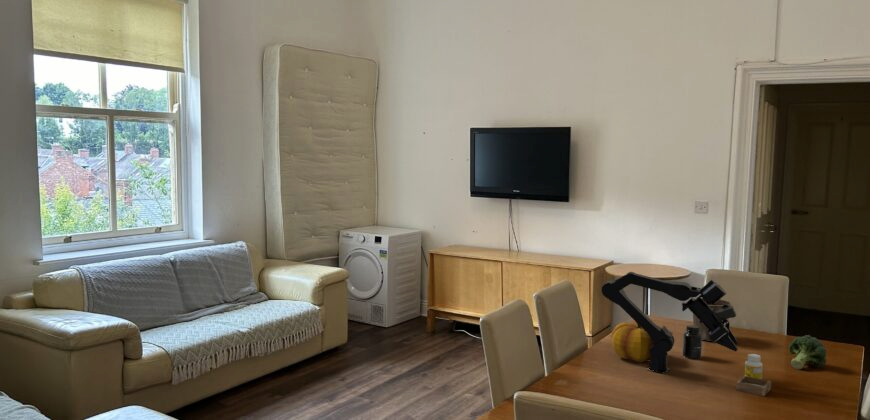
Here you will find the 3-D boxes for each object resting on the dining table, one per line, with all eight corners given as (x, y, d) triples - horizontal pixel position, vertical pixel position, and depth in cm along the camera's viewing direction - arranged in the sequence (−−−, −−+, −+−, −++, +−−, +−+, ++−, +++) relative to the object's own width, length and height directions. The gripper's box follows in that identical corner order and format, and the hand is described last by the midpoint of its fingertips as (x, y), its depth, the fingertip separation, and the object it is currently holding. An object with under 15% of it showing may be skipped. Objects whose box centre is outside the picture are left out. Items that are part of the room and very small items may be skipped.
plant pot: (680, 335, 288) (681, 298, 287) (711, 332, 293) (712, 296, 292) (706, 345, 273) (707, 306, 272) (738, 342, 278) (739, 304, 276)
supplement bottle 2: (764, 385, 224) (766, 358, 223) (748, 385, 224) (750, 357, 223) (757, 380, 229) (758, 353, 229) (741, 380, 229) (742, 353, 229)
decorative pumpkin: (611, 364, 246) (612, 324, 245) (610, 347, 268) (611, 311, 267) (668, 368, 242) (670, 328, 240) (662, 351, 263) (664, 314, 262)
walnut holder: (764, 396, 214) (764, 388, 213) (736, 390, 219) (736, 382, 219) (770, 389, 220) (771, 381, 220) (743, 383, 226) (743, 375, 226)
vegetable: (772, 357, 249) (793, 335, 255) (799, 385, 245) (820, 361, 251) (792, 346, 239) (813, 324, 245) (820, 375, 235) (842, 351, 241)
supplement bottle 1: (698, 360, 252) (699, 329, 251) (680, 357, 256) (681, 326, 255) (703, 356, 257) (704, 326, 256) (685, 353, 261) (686, 323, 260)
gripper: (720, 303, 221) (756, 339, 217) (722, 293, 237) (755, 326, 234) (694, 323, 225) (729, 359, 221) (698, 312, 241) (730, 345, 238)
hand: (737, 347), depth 228 cm, fingers open, 9 cm apart
